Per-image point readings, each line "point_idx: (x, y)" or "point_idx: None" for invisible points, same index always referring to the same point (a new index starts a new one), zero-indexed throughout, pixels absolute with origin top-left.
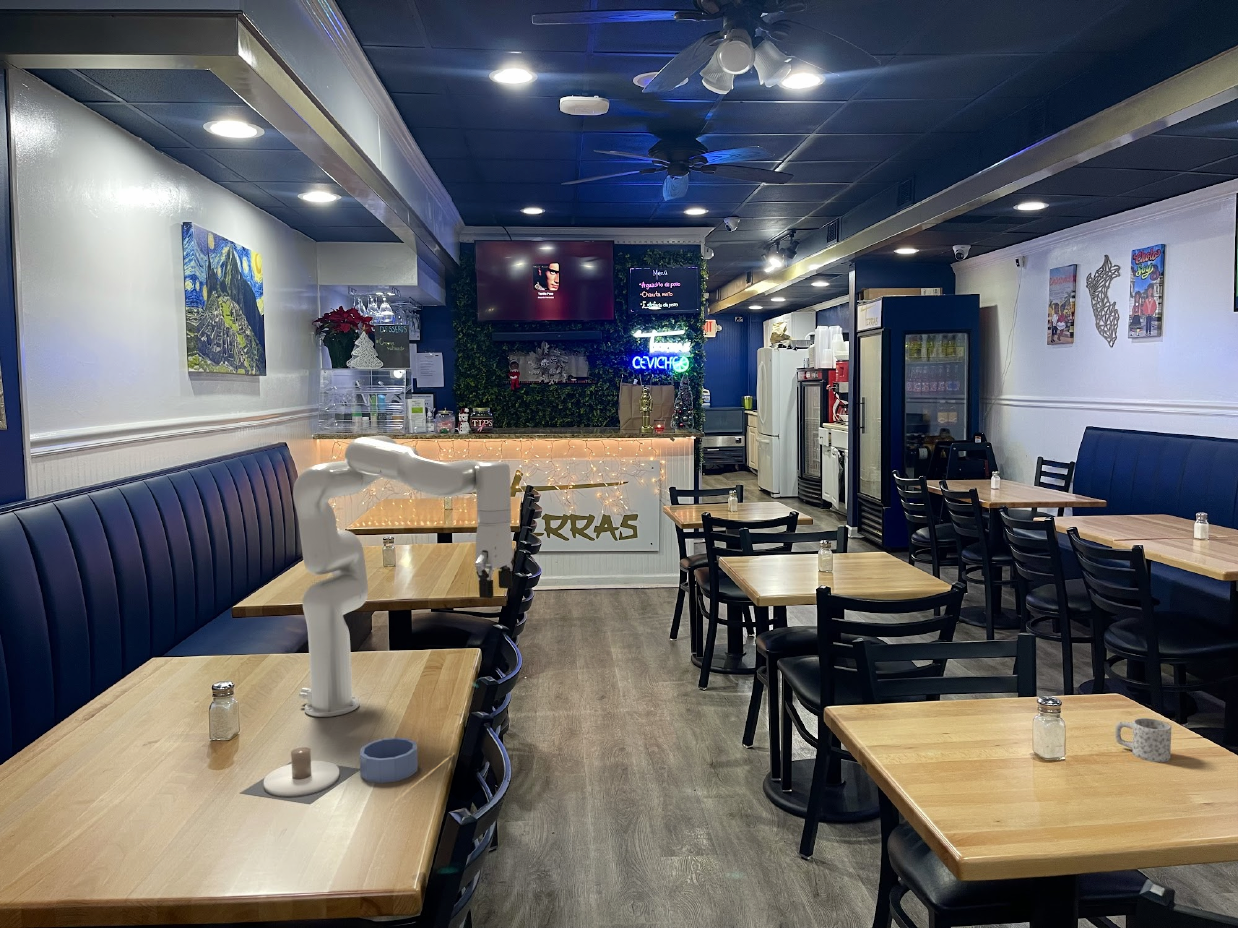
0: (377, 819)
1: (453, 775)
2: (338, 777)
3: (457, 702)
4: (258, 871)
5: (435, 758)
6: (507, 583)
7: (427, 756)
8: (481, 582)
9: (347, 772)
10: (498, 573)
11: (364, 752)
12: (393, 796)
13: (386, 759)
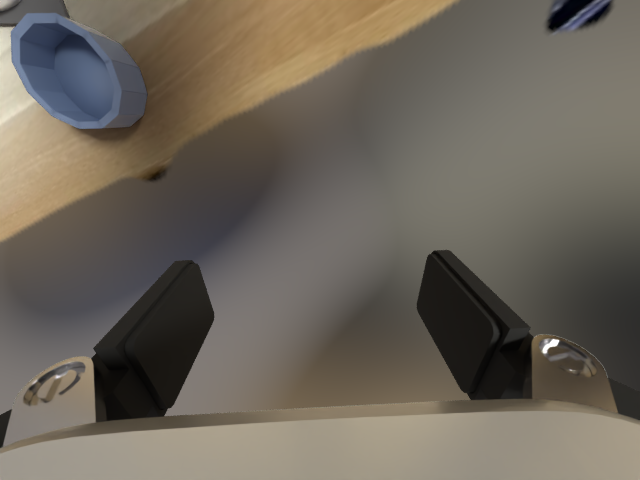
0: (9, 154)
1: (154, 179)
2: (14, 4)
3: (401, 15)
4: None
5: (179, 125)
6: (429, 313)
7: (178, 108)
8: (98, 358)
9: (41, 5)
10: (490, 310)
11: (31, 31)
12: (60, 137)
13: (39, 103)
